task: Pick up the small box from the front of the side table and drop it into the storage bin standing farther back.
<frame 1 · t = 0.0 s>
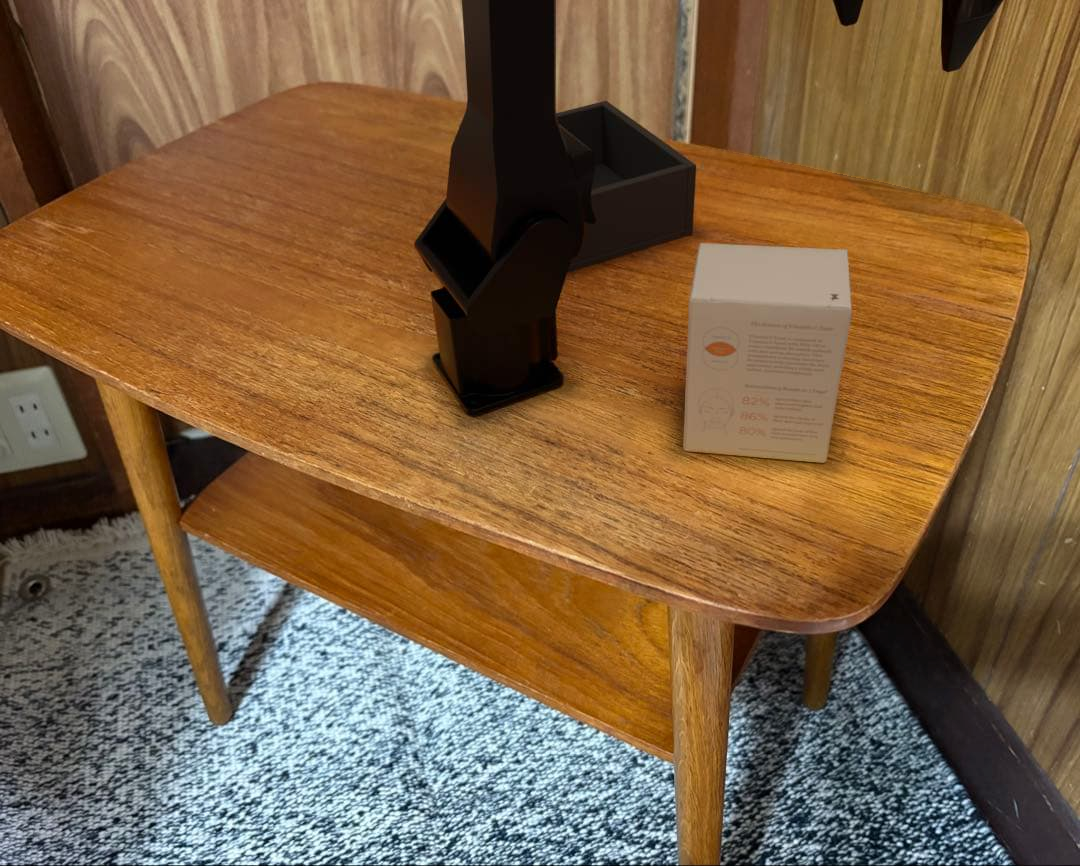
hand: (897, 46, 61), 15 cm above the table, tool pointing down, fingers open, 9 cm apart
small box: (754, 430, 57), on the table
storage bin: (583, 216, 76), on the table
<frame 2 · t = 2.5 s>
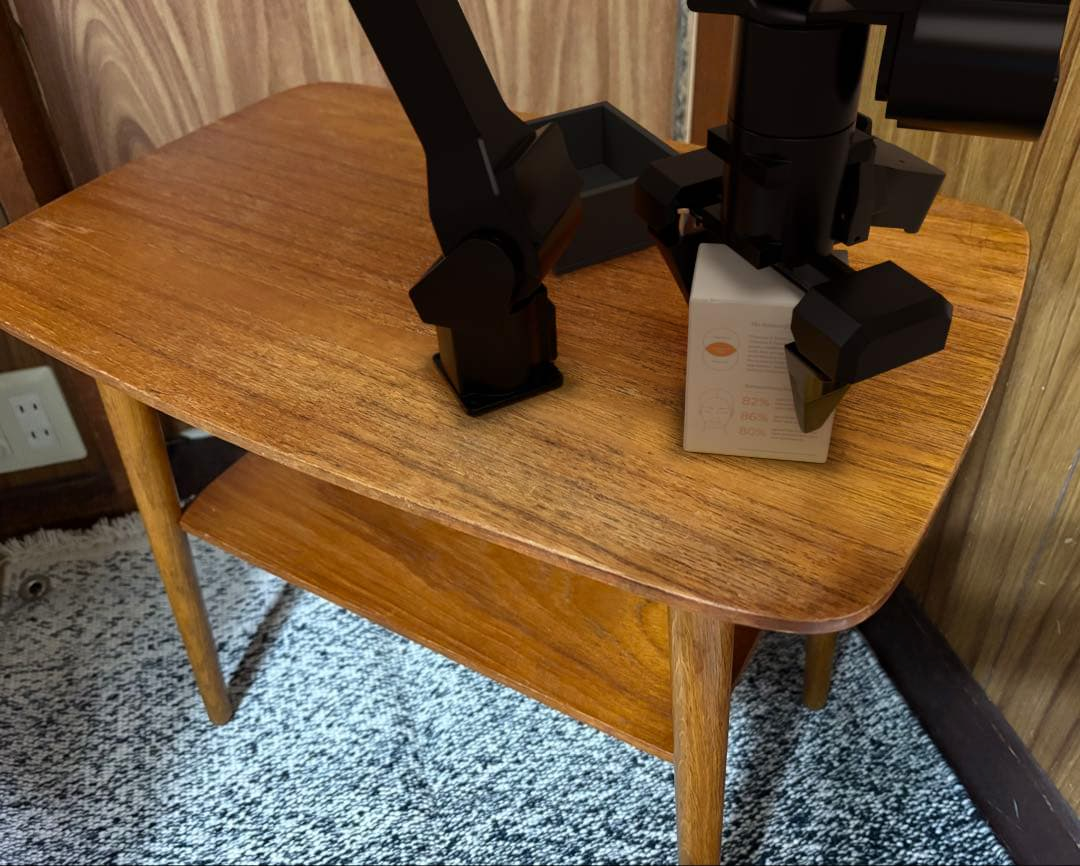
hand: (760, 382, 55), 3 cm above the table, tool pointing down, fingers closed on small box, 9 cm apart
small box: (754, 430, 57), on the table, touching gripper
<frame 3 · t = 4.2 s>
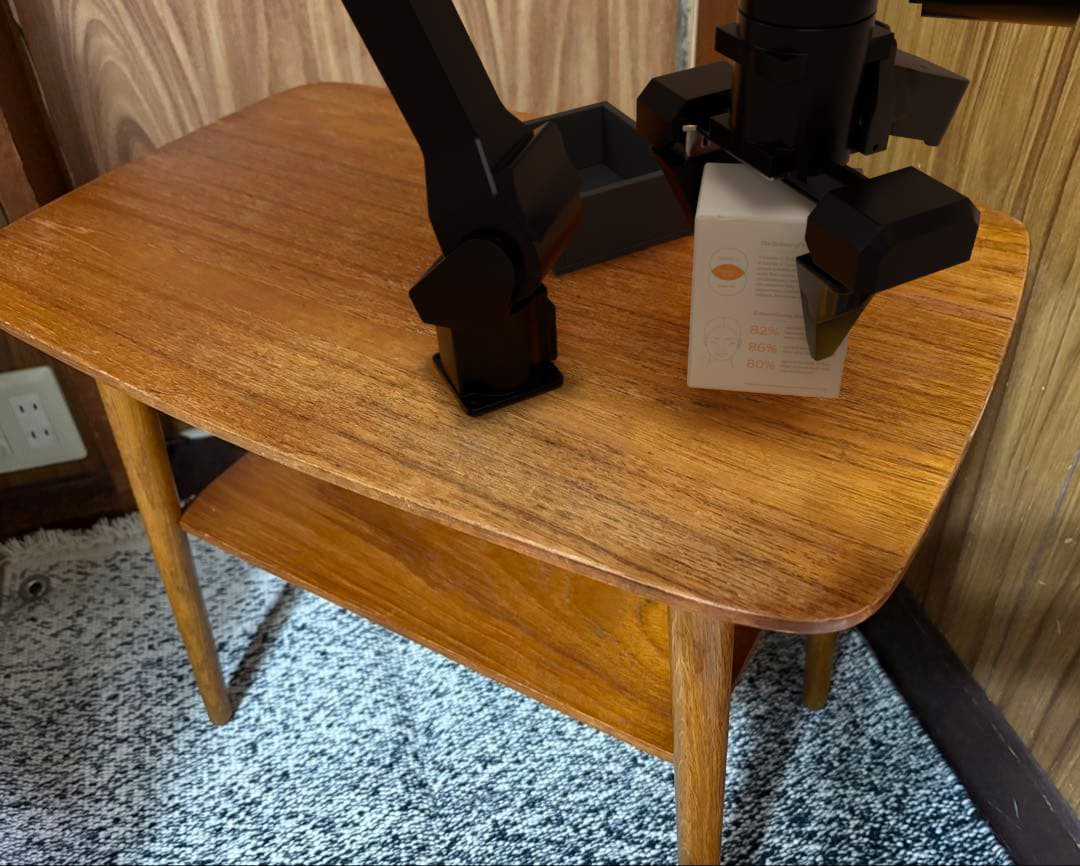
hand: (769, 313, 52), 8 cm above the table, tool pointing down, fingers closed on small box, 8 cm apart
small box: (761, 366, 54), point 4 cm above the table, touching gripper
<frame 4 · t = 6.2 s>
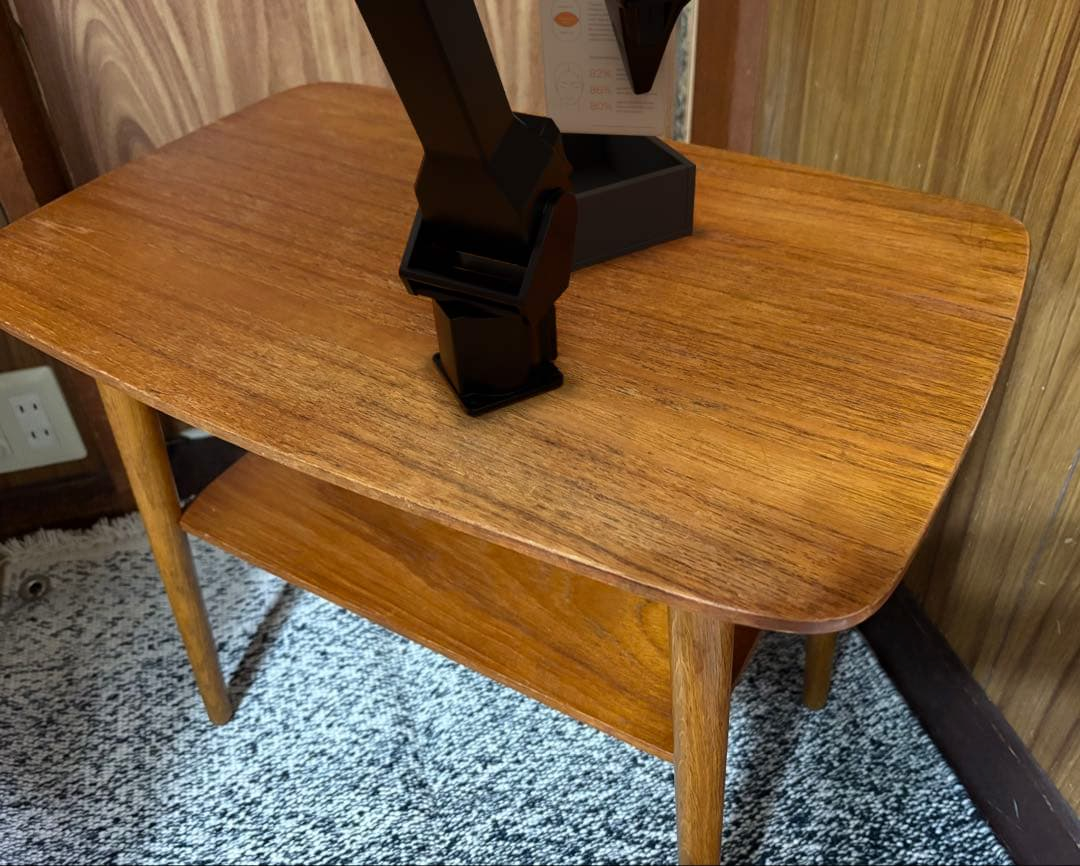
hand: (609, 69, 64), 13 cm above the table, tool pointing down, fingers closed on small box, 8 cm apart
small box: (610, 121, 67), point 10 cm above the table, touching gripper
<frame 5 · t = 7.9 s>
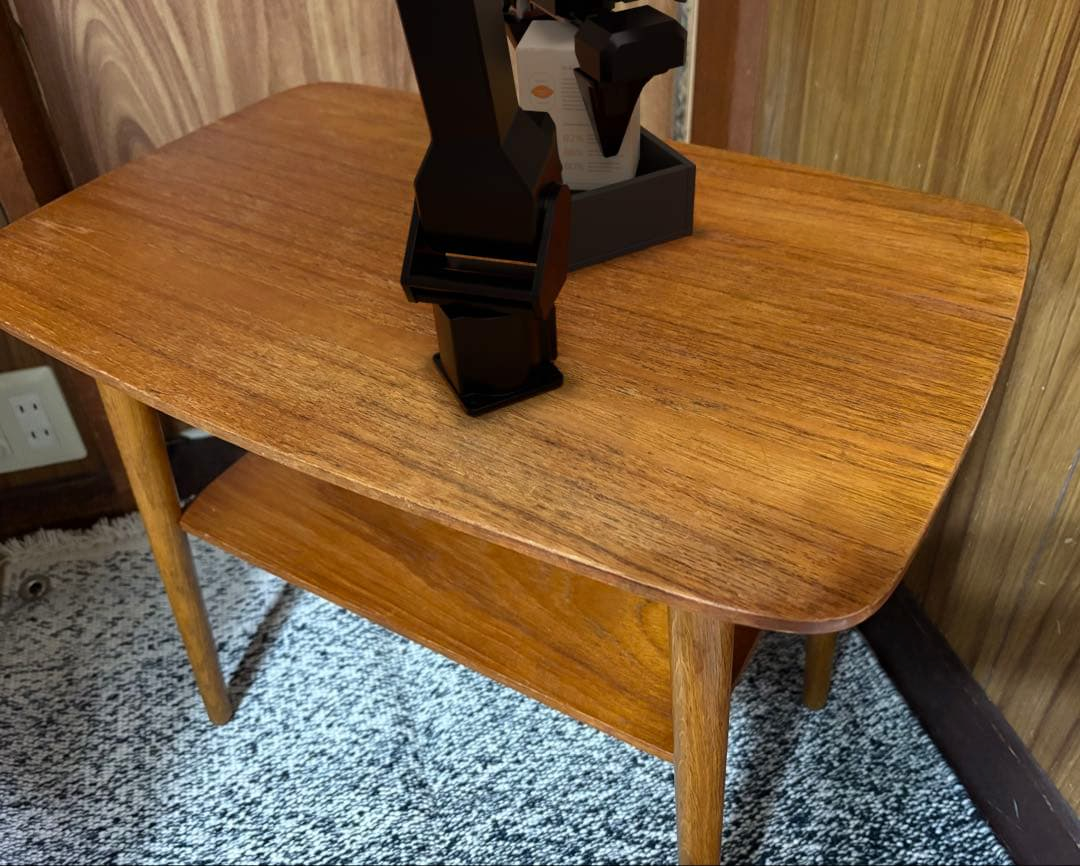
hand: (581, 133, 72), 7 cm above the table, tool pointing down, fingers closed on small box, 8 cm apart
small box: (583, 177, 74), point 3 cm above the table, touching gripper
when the fingers open (4 cm above the table, at t = 9.5 s): small box stays where it is, resting on storage bin.
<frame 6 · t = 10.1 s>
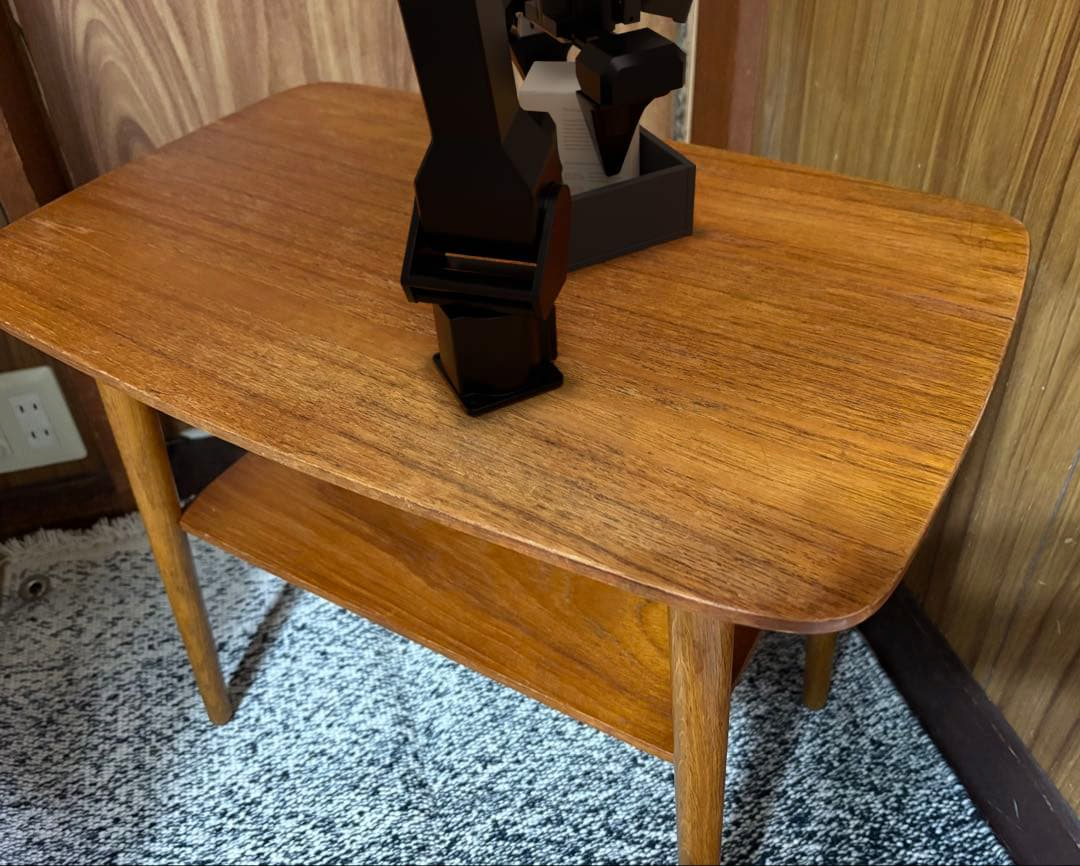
hand: (582, 150, 73), 5 cm above the table, tool pointing down, fingers open, 9 cm apart
small box: (584, 211, 76), resting on storage bin
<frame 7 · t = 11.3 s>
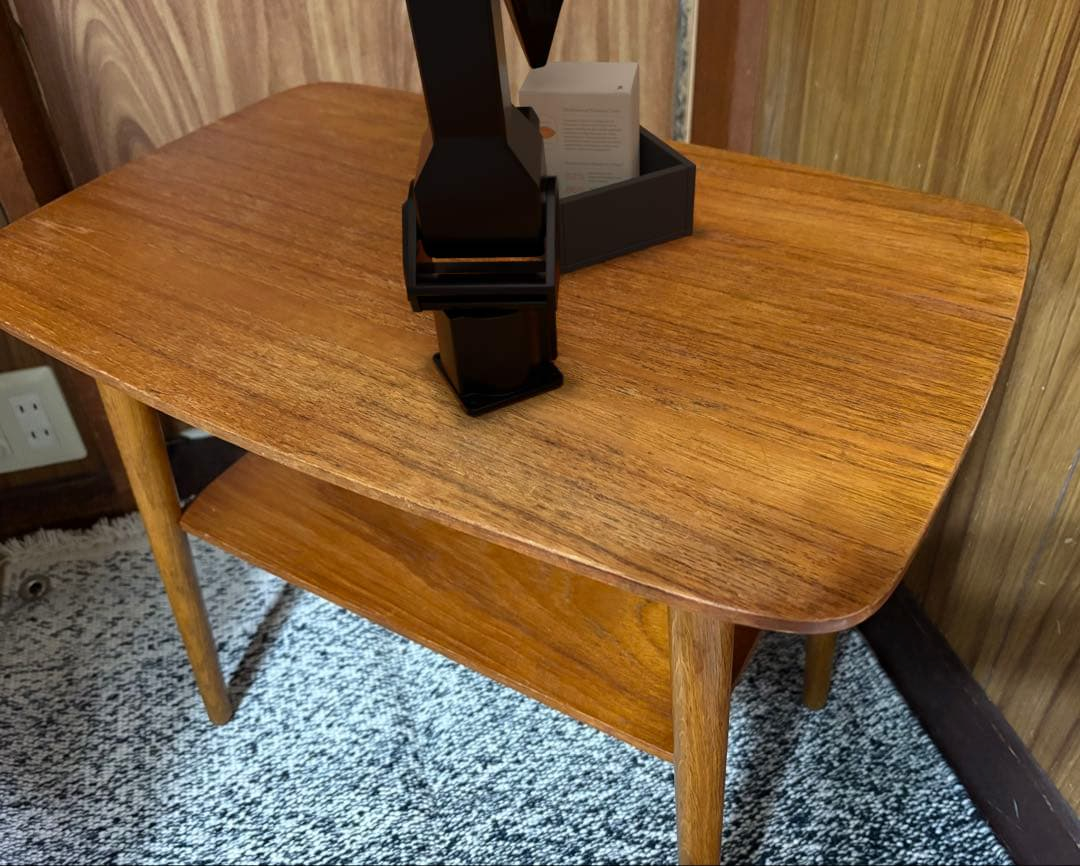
hand: (509, 46, 69), 13 cm above the table, tool pointing down, fingers open, 9 cm apart
nothing on the table moved.
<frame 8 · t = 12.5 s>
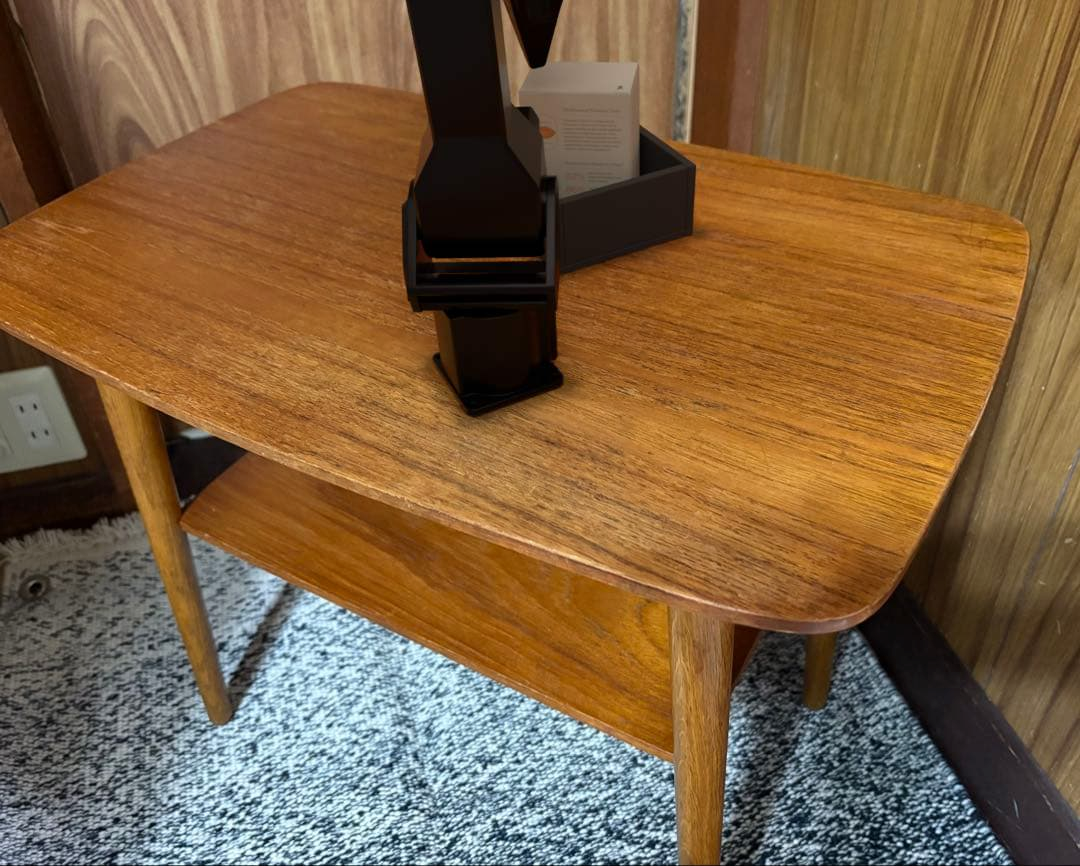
hand: (509, 46, 69), 13 cm above the table, tool pointing down, fingers open, 9 cm apart
nothing on the table moved.
at the end: small box inside the target area in the storage bin (0.1 cm from its centre), point 0.4 cm above the storage bin's base; the gripper is holding nothing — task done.
